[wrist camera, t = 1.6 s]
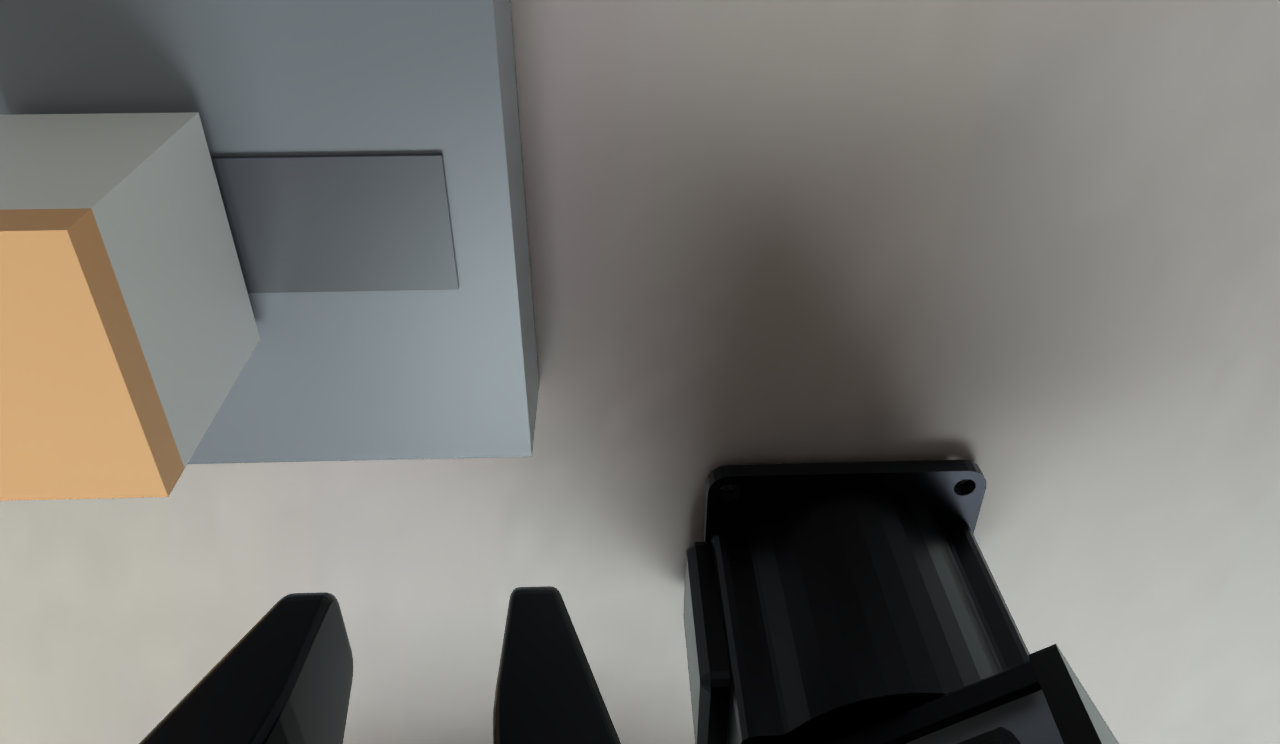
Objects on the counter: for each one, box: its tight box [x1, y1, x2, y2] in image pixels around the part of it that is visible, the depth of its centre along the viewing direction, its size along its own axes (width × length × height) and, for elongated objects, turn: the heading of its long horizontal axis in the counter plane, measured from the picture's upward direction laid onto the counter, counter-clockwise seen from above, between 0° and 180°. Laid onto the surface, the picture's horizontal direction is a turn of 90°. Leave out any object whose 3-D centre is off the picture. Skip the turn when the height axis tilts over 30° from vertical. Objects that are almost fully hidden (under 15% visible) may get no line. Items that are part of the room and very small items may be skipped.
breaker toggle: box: [0, 112, 260, 501], centre depth 13 cm, size 3×4×4 cm
